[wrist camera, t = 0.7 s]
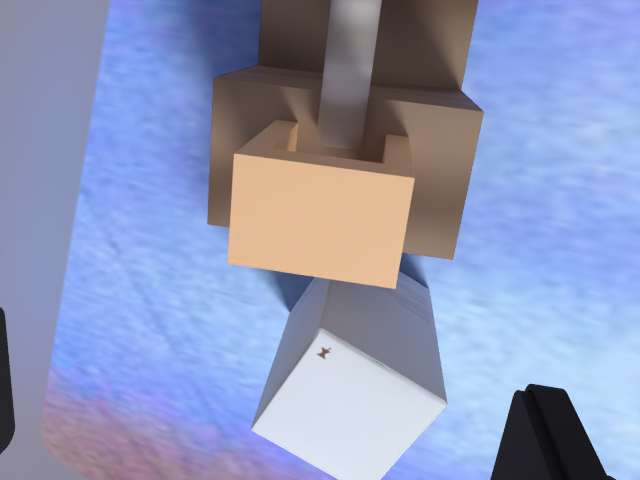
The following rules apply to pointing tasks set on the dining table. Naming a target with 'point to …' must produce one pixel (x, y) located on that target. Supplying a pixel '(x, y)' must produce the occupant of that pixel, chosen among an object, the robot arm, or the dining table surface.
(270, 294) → the dining table surface
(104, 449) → the dining table surface
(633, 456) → the dining table surface
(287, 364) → the supplement box
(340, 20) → the rod slider mechanism
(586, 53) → the dining table surface
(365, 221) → the cord clip
